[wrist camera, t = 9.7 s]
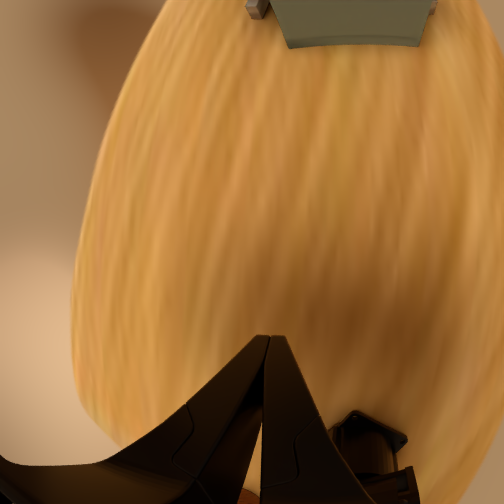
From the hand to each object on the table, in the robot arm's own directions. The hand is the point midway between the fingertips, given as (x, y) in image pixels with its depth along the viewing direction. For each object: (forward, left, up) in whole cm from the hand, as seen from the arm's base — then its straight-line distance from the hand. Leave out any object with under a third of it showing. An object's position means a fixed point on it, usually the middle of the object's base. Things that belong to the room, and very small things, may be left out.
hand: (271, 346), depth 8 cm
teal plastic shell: (+9, -24, -13) cm, 29 cm away
